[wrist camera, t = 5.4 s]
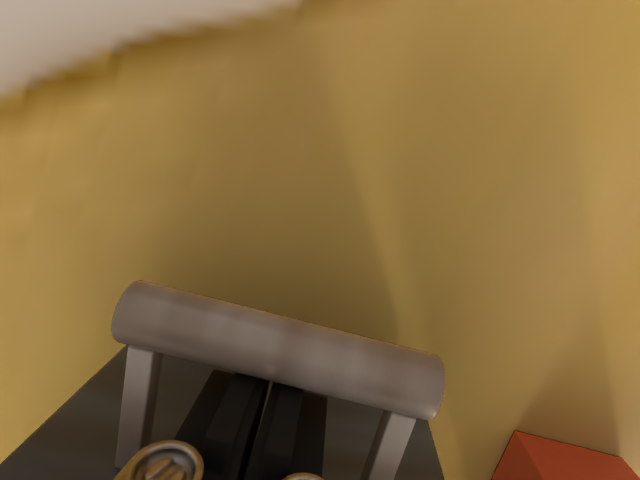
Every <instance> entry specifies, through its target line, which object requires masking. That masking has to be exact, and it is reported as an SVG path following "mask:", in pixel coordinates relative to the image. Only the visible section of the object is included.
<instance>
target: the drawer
mask: <svg viewBox="0 0 640 480" xmlns="http://www.w3.org/2000/svg"><path fill="white" fill-rule="evenodd" d="M111 332H112V336H113V338H114V339H115V340H116V341H117V342H119V343H123V344H127V345H126V346H125V347H124V348H123V349H122V350H121V351H120V352H118V353H117V354H116V355H115V356H114V357H113V358H112V359H111V360H110V361H109V362H108V363H107V364H106V365H105V366H104V367H103V368H101V369H100V370H99V371H98V372H97V373H96V374H95V375H94V376H93V377H92V378H91V379H90V380H89V381H88V382H87V383H86V384H85V385H83V386H82V387H81V388H80V389H79V390H78V391H77V392H76V393H75V394H74V395H73V396H72V397H71V398H70V399H69V400H68V401H66V402H65V403H64V404H63V405H62V406H61V407H60V408H59V409H58V410H57V411H56V412H55V413H54V414H53V415H52V416H51V417H50V418H48V419H47V420H46V421H45V422H44V423H43V424H42V425H41V426H40V427H39V428H38V429H37V430H36V431H35V432H34V433H33V434H31V435H30V436H29V437H28V438H27V439H26V440H25V441H24V442H23V443H22V444H21V445H20V446H19V447H18V448H17V449H16V450H15V451H13V452H12V453H11V454H10V455H9V456H8V457H7V458H6V459H5V460H4V461H3V462H2V463H1V464H0V480H113V479H114V478H115V476H116V475H117V474H118V473H119V472H120V471H121V470H122V469H123V467H124V466H125V465H126V464H127V463H128V462H129V461H130V459H131V458H132V457H133V456H134V455H135V454H137V453H138V452H139V451H140V450H141V449H142V448H144V447H146V446H148V445H150V444H152V443H155V442H159V441H163V440H173V439H174V438H175V436H176V434H177V432H178V431H179V429H180V427H181V425H182V424H183V422H184V420H185V418H186V417H187V415H188V413H189V411H190V410H191V408H192V406H193V404H194V403H195V401H196V399H197V397H198V396H199V394H200V392H201V390H202V389H203V387H204V385H205V383H206V382H207V380H208V378H209V376H210V375H211V373H212V371H213V370H214V369H219V370H223V371H227V372H231V373H235V372H237V373H241V374H245V375H249V376H253V377H257V378H261V379H265V380H269V381H270V383H269V387H268V392H267V396H266V400H265V404H264V409H263V413H262V417H263V414H264V411H265V407H266V404H267V401H268V397H269V394H270V391H271V387H272V384H273V382H277V383H281V384H285V385H289V386H293V387H297V388H301V389H304V391H308V392H312V393H316V394H320V395H324V396H327V415H326V429H325V442H324V456H323V470H322V479H324V480H444V476H443V473H442V469H441V466H440V462H439V459H438V455H437V452H436V448H435V445H434V441H433V438H432V434H431V431H430V427H429V424H428V420H431V419H433V418H434V417H435V416H436V414H437V413H438V411H439V408H440V406H441V402H442V399H443V394H444V386H445V372H444V366H443V362H442V360H441V358H440V357H438V356H437V355H435V354H431V353H427V352H423V351H419V350H415V349H411V348H407V347H403V346H399V345H395V344H391V343H387V342H384V341H380V340H376V339H372V338H368V337H364V336H360V335H356V334H352V333H348V332H344V331H340V330H336V329H332V328H328V327H324V326H320V325H316V324H312V323H308V322H305V321H301V320H297V319H293V318H289V317H285V316H281V315H277V314H273V313H269V312H265V311H261V310H257V309H253V308H249V307H245V306H241V305H237V304H233V303H230V302H226V301H222V300H218V299H214V298H210V297H206V296H202V295H198V294H194V293H190V292H186V291H182V290H178V289H174V288H170V287H166V286H162V285H158V284H155V283H151V282H147V281H142V280H140V281H136V282H134V283H132V284H131V285H130V286H129V287H128V288H127V289H126V290H125V292H124V293H123V295H122V296H121V298H120V300H119V302H118V304H117V306H116V309H115V311H114V315H113V319H112V325H111ZM262 417H261V421H262ZM261 421H260V424H261ZM259 428H260V425H259ZM259 428H258V431H259ZM257 434H258V432H257ZM256 438H257V435H256ZM256 438H255V441H256ZM254 445H255V442H254ZM254 445H253V448H252V451H251V455H250V458H249V461H248V465H247V468H246V471H245V475H244V478H243V480H246V478H247V473H248V469H249V465H250V461H251V457H252V453H253V449H254Z"/></svg>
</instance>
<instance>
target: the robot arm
mask: <svg viewBox="0 0 640 480" xmlns="http://www.w3.org/2000/svg"><path fill="white" fill-rule="evenodd" d="M269 383H270V381H269V380H265V379H261V378H257V377H253V376H249V375H245V374H241V373H237V372H235V373H231V372H227V371H223V370H219V369H214V370H213V371H212V373H211V375H210V376H209V378H208V380H207V382H206V383H205V385H204V387H203V389H202V390H201V392H200V394H199V396H198V397H197V399H196V401H195V403H194V404H193V406H192V408H191V410H190V411H189V413H188V415H187V417H186V418H185V420H184V422H183V424H182V425H181V427H180V429H179V431H178V432H177V434H176V436H175V438H174V439H173V440H163V441H159V442H155V443H152V444H150V445H148V446H146V447H144V448H142V449H141V450H140V451H139V452H138V453H137V454H135V455H134V456H133V457H132V458H131V459H130V461H129V462H128V463H127V464H126V465H125V466H124V467H123V469H122V470H121V471H120V472H119V473H118V474H117V475H116V476H115V478H114V479H113V480H243V478H244V475H245V471H246V468H247V465H248V461H249V458H250V455H251V451H252V448H253V445H254V442H255V445H254V449H253V453H252V457H251V461H250V465H249V469H248V473H247V478H246V480H324V479H322V470H323V456H324V442H325V429H326V415H327V396H324V395H320V394H316V393H312V392H308V391H304V389H301V388H297V387H293V386H289V385H285V384H281V383H277V382H273V384H272V387H271V391H270V394H269V397H268V401H267V404H266V407H265V411H264V414H263V417H262V413H263V409H264V404H265V400H266V396H267V392H268V387H269ZM261 417H262V421H261ZM260 421H261V424H260ZM259 425H260V428H259ZM258 428H259V431H258ZM257 432H258V434H257ZM256 435H257V438H256ZM255 438H256V441H255Z"/></svg>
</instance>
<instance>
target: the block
mask: <svg viewBox="0 0 640 480" xmlns="http://www.w3.org/2000/svg"><path fill="white" fill-rule="evenodd" d="M492 480H640V478H639V477H638V476H637V475H636V474H635V473H634V471H633V470H632V469H631V468H630V467H629V466H628V464H627V463H626V462H625V461H624V460H623V459H622V458H621V457H617V456H613V455H609V454H605V453H601V452H597V451H593V450H589V449H585V448H581V447H577V446H573V445H569V444H565V443H561V442H557V441H554V440H550V439H546V438H542V437H538V436H534V435H530V434H526V433H522V432H518V431H515V432H514V434H513V436H512V438H511V440H510V442H509V444H508V446H507V448H506V450H505V452H504V455H503V457H502V459H501V461H500V463H499V465H498V467H497V469H496V471H495V473H494V476H493V478H492Z"/></svg>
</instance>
